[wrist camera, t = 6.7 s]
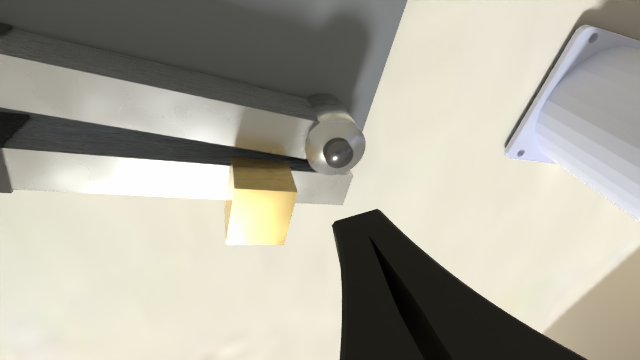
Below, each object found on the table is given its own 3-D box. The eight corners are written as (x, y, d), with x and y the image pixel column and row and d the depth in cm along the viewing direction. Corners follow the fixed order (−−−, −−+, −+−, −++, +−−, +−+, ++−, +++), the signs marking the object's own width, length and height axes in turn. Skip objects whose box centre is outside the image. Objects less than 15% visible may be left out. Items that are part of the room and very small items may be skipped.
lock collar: (288, 161, 16) (298, 192, 14) (276, 211, 17) (283, 244, 15) (231, 156, 15) (234, 188, 13) (224, 209, 16) (226, 244, 14)
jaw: (352, 100, 17) (379, 134, 15) (334, 146, 19) (355, 185, 16) (-63, -3, 12) (-147, 21, 9) (-48, 73, 13) (-118, 115, 10)
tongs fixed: (338, 147, 19) (354, 175, 17) (329, 178, 20) (342, 207, 18) (-34, 108, 14) (-77, 140, 12) (-21, 152, 15) (-58, 190, 13)
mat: (425, -72, 14) (432, -71, 14) (340, 181, 21) (343, 186, 21) (-106, -262, 9) (-121, -271, 9) (2, 157, 16) (-3, 163, 15)
